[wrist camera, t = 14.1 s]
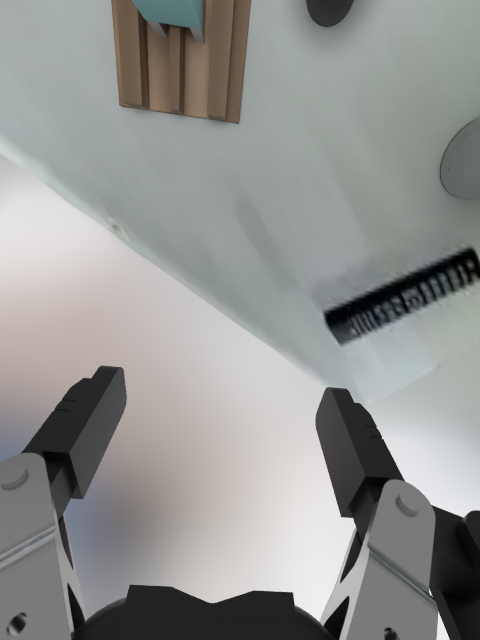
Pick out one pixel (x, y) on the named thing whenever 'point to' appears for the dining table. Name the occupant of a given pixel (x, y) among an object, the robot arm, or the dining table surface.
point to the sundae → (328, 11)
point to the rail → (182, 62)
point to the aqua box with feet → (175, 15)
